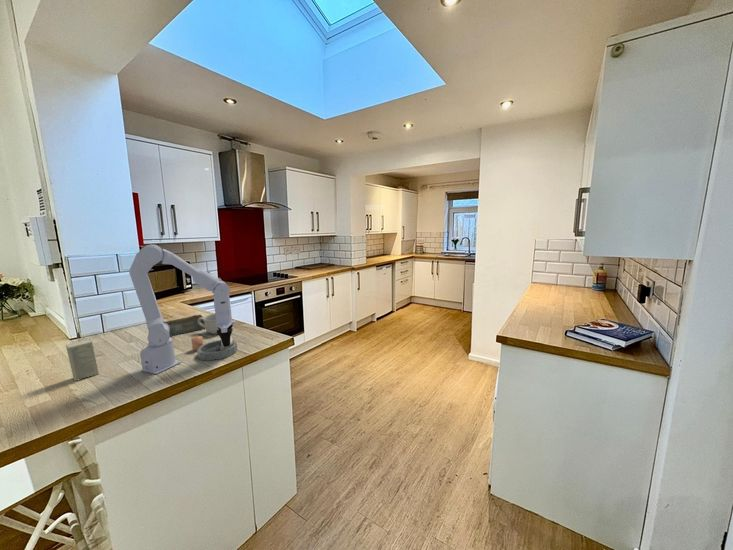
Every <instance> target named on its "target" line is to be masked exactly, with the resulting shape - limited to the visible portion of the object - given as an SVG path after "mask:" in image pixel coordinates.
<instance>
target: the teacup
mask: <svg viewBox="0 0 733 550" xmlns="http://www.w3.org/2000/svg"><path fill="white" fill-rule="evenodd" d="M201 319H202V320H203V321H204V324H205V325H203V324H202V323H201V322H200V320H201ZM197 322H198V324H199V325H200V326H202V327H204V328H205V329H204V330H205V331H206V332H207V333H210V334H212V335H218V334H217V330H219V329H218V327H217V326H216V316H215V313H211V314H208V315H205V316H202V317H200V318H199V319H198V321H197Z"/></svg>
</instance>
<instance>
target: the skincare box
mask: <svg viewBox="0 0 733 550" xmlns="http://www.w3.org/2000/svg"><path fill="white" fill-rule="evenodd" d="M65 349H66V352H67V355H68V360H69V365H70V370H71V373H72V379H73V380H74V381H75V380H78V379H82V378H85V377H88V378H90V377H89V376H91V377H94V376H97V375H99V374H100V373H99V369H98V363H97V359H96V355H95V350H94V345H93V341H92V339H91V338H89V339H88V338H87V339H84V340H80V341H76V342H72V343H68V344H65ZM93 375H94V376H93ZM85 379H86V378H85ZM82 380H83V379H82ZM78 381H79V380H78Z"/></svg>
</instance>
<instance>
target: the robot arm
mask: <svg viewBox="0 0 733 550" xmlns="http://www.w3.org/2000/svg"><path fill="white" fill-rule="evenodd" d="M160 262H161V264H162V265H172V266H174V267H175V268H177V269H179V270H181V271H182V272H184V273H185V274H187V275H188V276H191V277H192V280H193V281H192V282H194V283H195V284H197V285H198V286H199V287H201V288H203V289H204V290H206V291H209V292H212V294H213V305H214V307H213V308H214V314H215V316H216V326H217V327H218V329H219V330H217V334H216V335H217V336H219V338H220V340H222V343H223V346H224V347H226V346H230V337H231V336H232V333H233V331H234V328H233V325H234V324H235V323H236V320H235V319H234V320H233V317H232V309H231V307H232V306H231V299H230V293H231V288H230V287H229V285H228V284H227V283H226V282H225V281H223V280H222V279H221V277H216V275H213V274H212V273H211V271H210V270H208V269H207V270H206V269H204V268H203V269H197V268H196V267H194V266H193V265H191V264H190V263H188V262H187V261H185V260H184V259H182V258H181V257H180V256H178V255H177V254H175V253H174V252H172V251H169V250H167V249H165V248H162V247H161V246H159V245H157V244H154V243H153V244H152V243H151V244H147V245H145V246H143V247H142V248H141V249H140V250H139V251H138V252H137V253H136V254H135V257H134V259H133V261H132V264H131V266H130V268H129V270H128V271H129V276H130V278H131V279H130V280H131V281H132V284H133V287H134V289H135V293H136V296H137V299H138V302H139V304H140V307H141V310H142V313H143V315H144V318H145V322H146V327H147V330H148V335H147V341H148V342H147V346H146V347H144V348H143V349H141V350H140V355H139V356H140V362H141V369H140V370H141V372H145V373H149V374H153V375H157V374H158V375H159V374H160V373H163V372H164V371H165V370H168V369H170V368H173V367H174V366H176V365H180V364H181V363H182V361H181V360H177V359H176V355H175V347H174V341H173V338H171V336H170V334H169V331H170V327H169V325H168V324H167V323H165V322H166V321H165V320H164V317H163V315H162V313H161V310H160V309H161V308H160V307H159V304H158V301H157V299H156V295H155V293H154V290H153V286H152V283H151V280H150V278H149V274H148V273H149V271H150V270H152V268H153V266H155V265H157V264H158V263H160Z"/></svg>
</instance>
